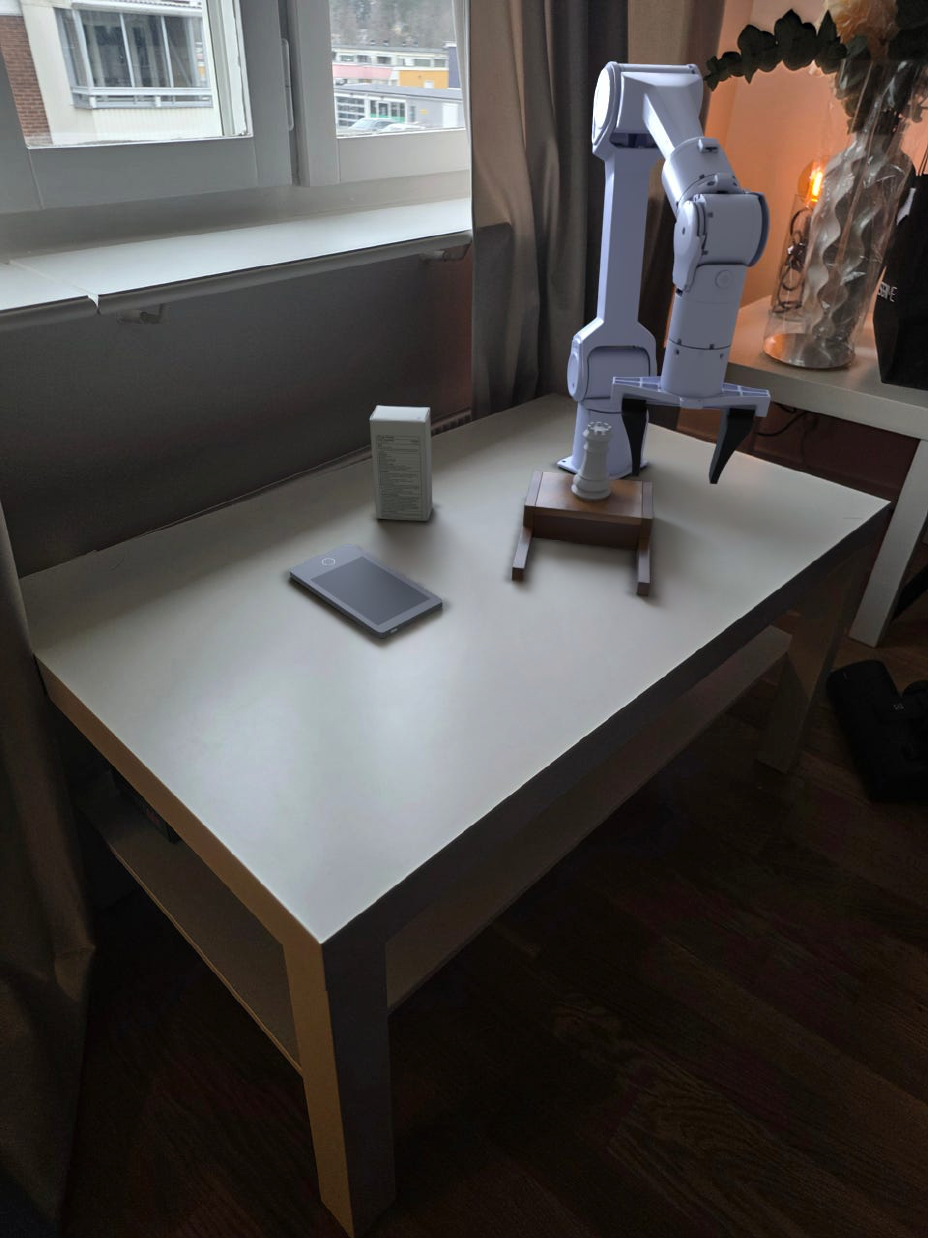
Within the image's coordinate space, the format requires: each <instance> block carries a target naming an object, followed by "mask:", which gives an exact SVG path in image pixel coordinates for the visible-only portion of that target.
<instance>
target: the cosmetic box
mask: <svg viewBox="0 0 928 1238" xmlns="http://www.w3.org/2000/svg"><path fill="white" fill-rule="evenodd" d="M373 410H374V411H373V412H372V414H371V415H370V417H369V431H370V445H371V460H372V472H373V474H372V475H373V488H374V490H373V491H374V503H375V518H376V519H380V520H396V521H397V520H398V521H399V520H400V521H402V520H403V521H419V522H421V521H423V522H428V521H429V518H430V516H431V512H432V509H433V466H432V464H433V463H432V426H431V424H432V423H431V422H432V421H431V407H425V406H423V407H422V406H401V405H400V406H398V405H376V407H375V409H373Z"/></svg>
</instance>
